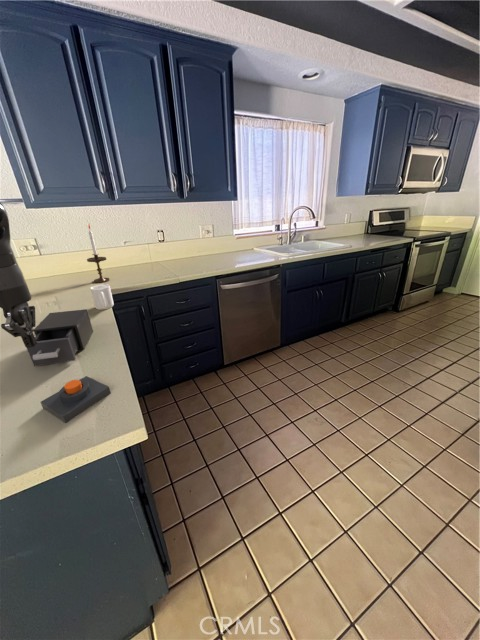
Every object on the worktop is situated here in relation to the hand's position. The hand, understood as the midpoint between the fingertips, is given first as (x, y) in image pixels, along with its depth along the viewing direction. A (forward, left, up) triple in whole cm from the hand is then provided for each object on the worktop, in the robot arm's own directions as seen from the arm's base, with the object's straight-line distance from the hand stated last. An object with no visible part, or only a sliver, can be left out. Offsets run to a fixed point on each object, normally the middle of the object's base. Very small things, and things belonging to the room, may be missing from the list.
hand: (31, 346), depth 71 cm
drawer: (+9, +9, -11) cm, 17 cm away
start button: (0, -16, -8) cm, 18 cm away
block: (0, -16, -12) cm, 20 cm away
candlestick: (+74, +80, -12) cm, 110 cm away
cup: (+45, +36, -12) cm, 59 cm away
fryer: (+17, +17, -12) cm, 27 cm away
